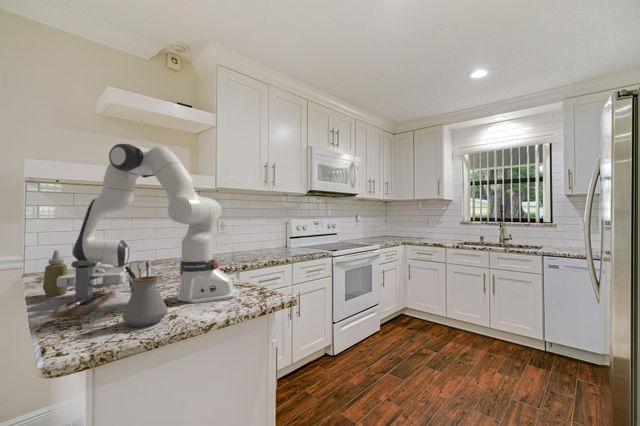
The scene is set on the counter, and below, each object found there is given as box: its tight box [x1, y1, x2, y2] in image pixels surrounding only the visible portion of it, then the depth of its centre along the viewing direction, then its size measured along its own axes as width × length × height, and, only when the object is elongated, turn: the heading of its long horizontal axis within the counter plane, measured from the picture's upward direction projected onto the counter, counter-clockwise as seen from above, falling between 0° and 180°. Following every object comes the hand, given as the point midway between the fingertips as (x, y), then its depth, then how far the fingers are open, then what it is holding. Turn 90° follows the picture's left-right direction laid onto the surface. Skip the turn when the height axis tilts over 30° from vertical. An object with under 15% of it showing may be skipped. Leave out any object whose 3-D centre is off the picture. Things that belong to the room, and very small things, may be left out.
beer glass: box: [127, 259, 152, 296], centre depth 107 cm, size 7×7×15 cm
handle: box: [68, 260, 98, 310], centre depth 99 cm, size 7×12×14 cm, turn 16°
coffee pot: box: [121, 265, 168, 328], centre depth 90 cm, size 21×12×15 cm, turn 51°
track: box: [52, 289, 117, 318], centre depth 105 cm, size 9×24×2 cm, turn 16°
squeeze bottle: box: [42, 250, 69, 297], centre depth 121 cm, size 8×8×18 cm
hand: (83, 283), depth 102 cm, fingers closed on handle, 3 cm apart
